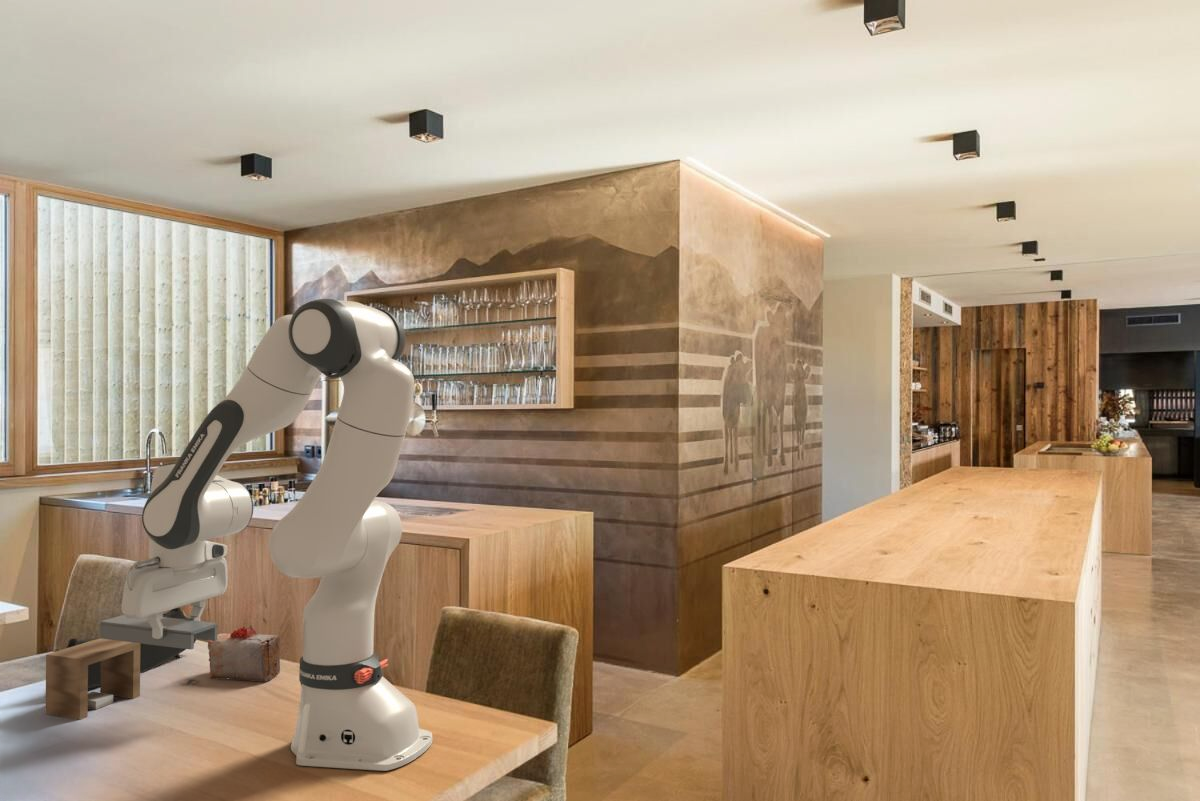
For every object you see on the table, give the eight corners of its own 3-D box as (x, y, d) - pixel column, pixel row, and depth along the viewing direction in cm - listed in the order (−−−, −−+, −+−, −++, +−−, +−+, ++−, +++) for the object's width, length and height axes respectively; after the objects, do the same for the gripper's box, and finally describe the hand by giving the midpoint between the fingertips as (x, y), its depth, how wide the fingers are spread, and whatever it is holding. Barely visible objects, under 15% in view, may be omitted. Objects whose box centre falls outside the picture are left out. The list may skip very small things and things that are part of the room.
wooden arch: (139, 695, 156) (140, 639, 156) (79, 719, 144) (80, 659, 144) (107, 690, 159) (107, 635, 159) (45, 714, 147) (46, 654, 147)
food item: (200, 680, 165) (201, 631, 165) (225, 668, 173) (225, 620, 173) (263, 685, 163) (264, 634, 163) (285, 672, 171) (286, 624, 171)
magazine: (53, 655, 152) (181, 577, 179) (40, 653, 153) (169, 576, 180) (77, 735, 156) (199, 647, 183) (65, 733, 157) (187, 645, 184)
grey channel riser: (217, 640, 147) (217, 623, 147) (191, 649, 141) (191, 631, 141) (128, 629, 153) (128, 613, 153) (100, 638, 147) (100, 621, 147)
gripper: (142, 564, 135) (141, 650, 135) (234, 544, 154) (233, 619, 154) (112, 562, 137) (111, 646, 137) (206, 542, 156) (205, 616, 156)
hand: (176, 631), depth 146 cm, fingers closed on grey channel riser, 6 cm apart
